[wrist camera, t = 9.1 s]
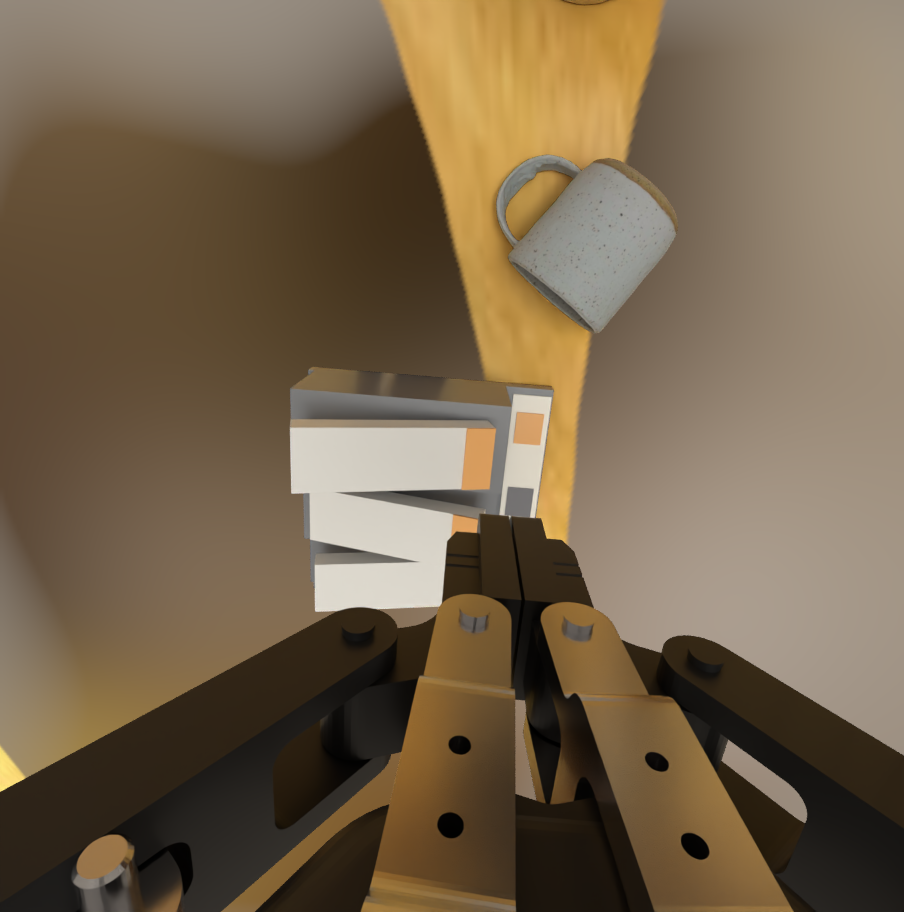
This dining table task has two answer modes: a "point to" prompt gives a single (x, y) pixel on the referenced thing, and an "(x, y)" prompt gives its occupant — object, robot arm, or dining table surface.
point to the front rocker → (390, 455)
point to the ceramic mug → (590, 236)
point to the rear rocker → (375, 582)
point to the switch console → (433, 398)
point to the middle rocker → (390, 523)
